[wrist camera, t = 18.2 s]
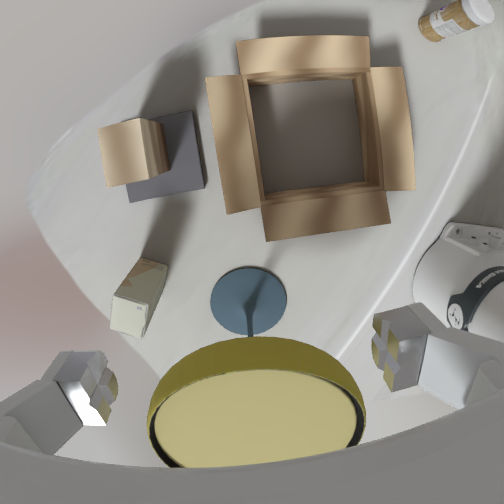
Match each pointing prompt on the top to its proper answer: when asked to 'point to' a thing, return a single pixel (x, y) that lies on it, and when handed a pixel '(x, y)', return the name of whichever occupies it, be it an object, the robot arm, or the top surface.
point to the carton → (370, 125)
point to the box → (138, 298)
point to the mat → (174, 161)
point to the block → (133, 151)
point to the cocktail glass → (253, 389)
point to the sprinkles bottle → (456, 19)
